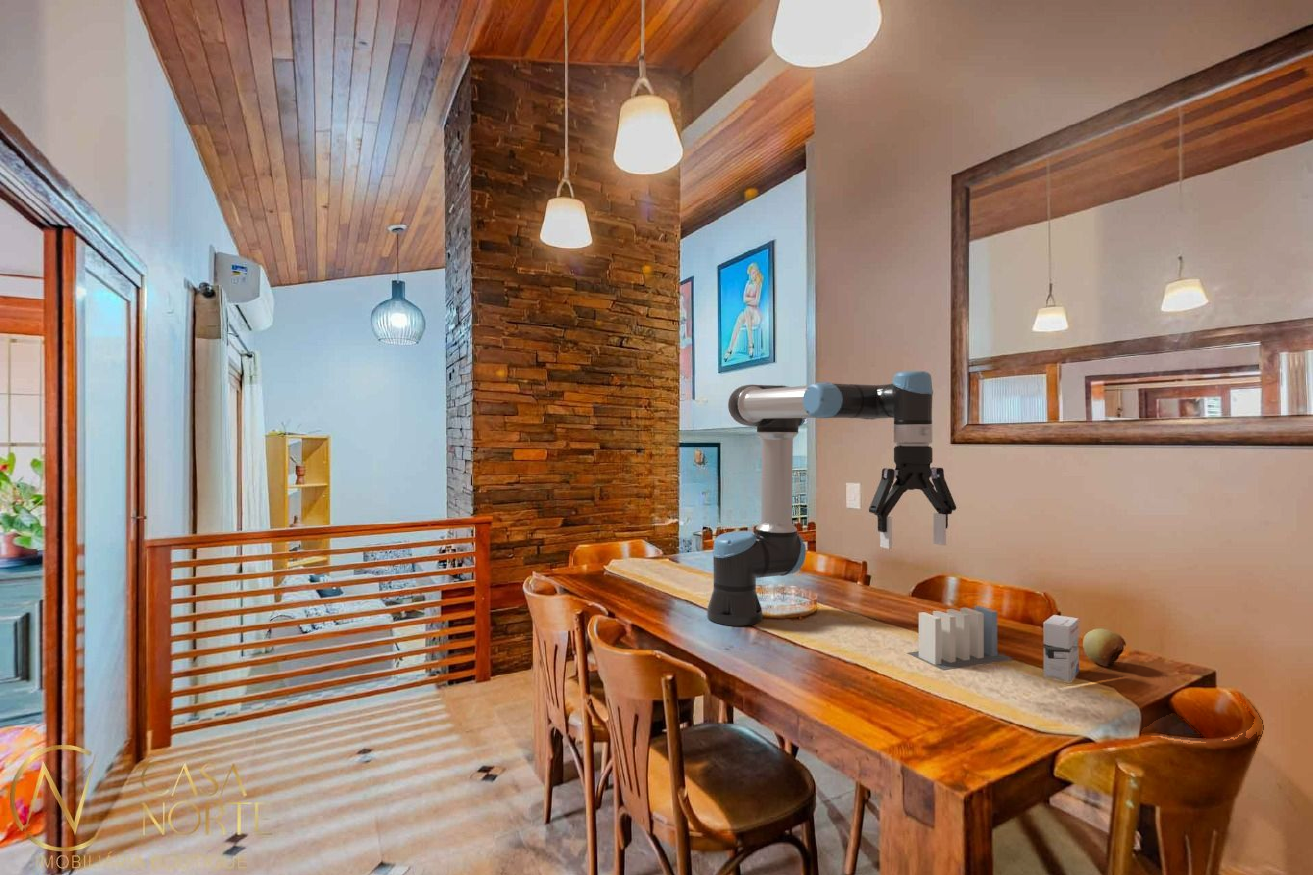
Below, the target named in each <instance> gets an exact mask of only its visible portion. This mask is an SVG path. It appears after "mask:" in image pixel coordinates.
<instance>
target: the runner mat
mask: <svg viewBox="0 0 1313 875" xmlns="http://www.w3.org/2000/svg"><path fill="white" fill-rule="evenodd" d="M907 654H908V655H910V656H912V657H914V658H916V659H918V660H921V661H923V662H925V663H926V664H929V665H932V666H933V667H935V668H937V669H939V670H942V671H948V670H954V669H955V670H956V669H962V668H969V667H973V666H981V665H987V664H993V663H999V662H1000V663H1001V662H1006V661H1007V662H1008V661H1012V660H1013V661H1014V660H1015V658H1013V657H1010V656H1007V655H1005V654H1003V653H1000V652H997V656H990V655H987V654H985V653H984V658H976V657H974V656H971V655H970V660H962V659H960V658H957V657H956V662H951V663H950V662H947V661H945V660H943V659H941V664H938V665H935V664H933V663H930V662H928V661H926V660H924V659H922V658H920V657H919V650H917V651H912V652H911V651H910V652H907Z"/></svg>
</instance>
